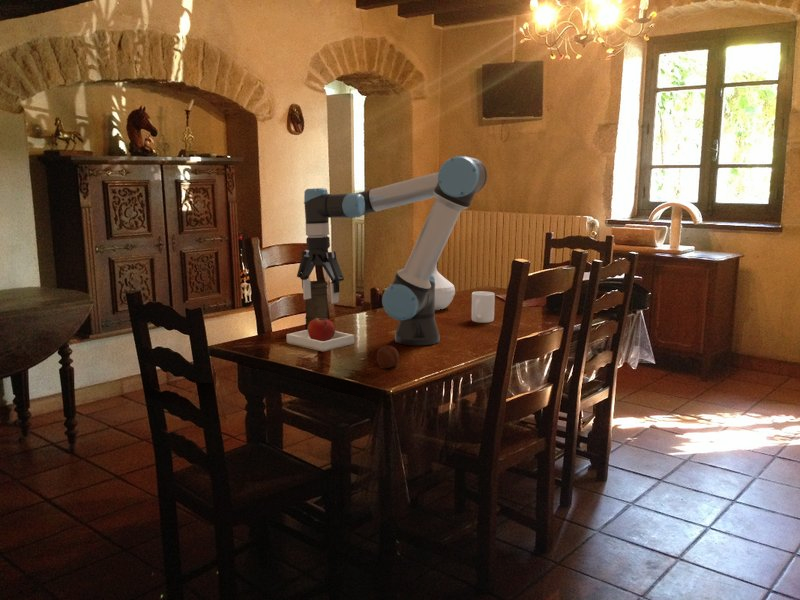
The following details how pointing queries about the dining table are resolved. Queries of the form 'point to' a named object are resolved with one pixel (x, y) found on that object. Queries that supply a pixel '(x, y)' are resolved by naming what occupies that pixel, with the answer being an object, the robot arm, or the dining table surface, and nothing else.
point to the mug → (483, 306)
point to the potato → (387, 357)
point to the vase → (442, 290)
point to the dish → (305, 341)
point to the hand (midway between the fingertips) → (321, 300)
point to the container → (316, 302)
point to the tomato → (321, 329)
